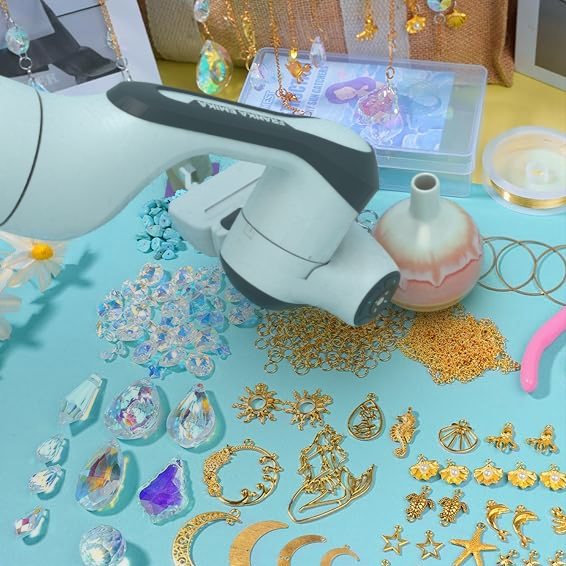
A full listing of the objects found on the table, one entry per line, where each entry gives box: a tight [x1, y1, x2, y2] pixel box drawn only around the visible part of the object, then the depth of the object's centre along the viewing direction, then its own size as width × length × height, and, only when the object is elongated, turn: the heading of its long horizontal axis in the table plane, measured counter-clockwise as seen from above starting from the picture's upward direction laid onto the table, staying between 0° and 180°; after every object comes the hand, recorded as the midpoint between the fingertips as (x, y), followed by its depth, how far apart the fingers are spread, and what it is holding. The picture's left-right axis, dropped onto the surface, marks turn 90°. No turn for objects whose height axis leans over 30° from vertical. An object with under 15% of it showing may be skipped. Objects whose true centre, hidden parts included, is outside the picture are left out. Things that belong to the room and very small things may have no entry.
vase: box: [369, 171, 485, 313], centre depth 94 cm, size 14×14×18 cm
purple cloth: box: [163, 161, 220, 200], centre depth 114 cm, size 7×7×1 cm
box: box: [165, 155, 214, 192], centre depth 110 cm, size 5×4×11 cm
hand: (218, 150), depth 97 cm, fingers open, 8 cm apart
